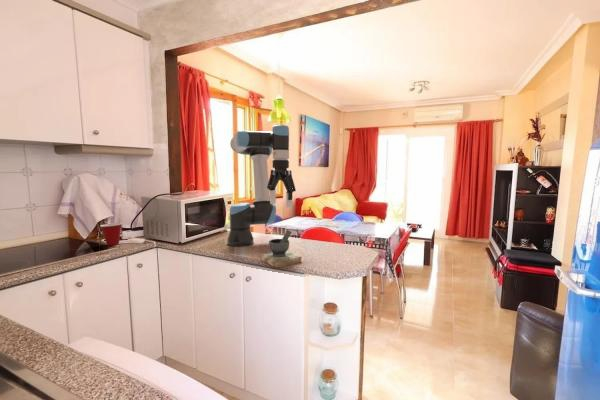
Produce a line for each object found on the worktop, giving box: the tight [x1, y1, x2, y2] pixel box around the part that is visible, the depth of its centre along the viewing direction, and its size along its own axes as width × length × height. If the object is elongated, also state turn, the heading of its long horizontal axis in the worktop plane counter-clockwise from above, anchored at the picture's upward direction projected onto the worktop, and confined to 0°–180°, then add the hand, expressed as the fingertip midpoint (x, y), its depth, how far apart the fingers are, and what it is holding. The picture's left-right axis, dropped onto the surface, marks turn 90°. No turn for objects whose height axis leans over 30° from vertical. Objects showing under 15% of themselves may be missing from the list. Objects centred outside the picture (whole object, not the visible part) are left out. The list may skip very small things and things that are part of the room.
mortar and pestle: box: [268, 229, 292, 257], centre depth 139 cm, size 11×9×12 cm
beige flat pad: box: [259, 250, 302, 269], centre depth 140 cm, size 14×14×3 cm
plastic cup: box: [99, 222, 123, 247], centre depth 166 cm, size 11×11×12 cm
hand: (280, 205), depth 137 cm, fingers open, 13 cm apart
